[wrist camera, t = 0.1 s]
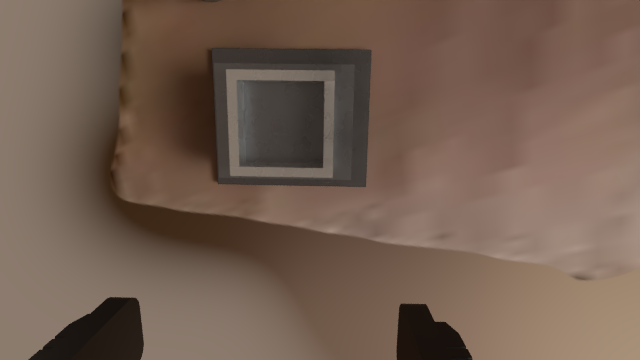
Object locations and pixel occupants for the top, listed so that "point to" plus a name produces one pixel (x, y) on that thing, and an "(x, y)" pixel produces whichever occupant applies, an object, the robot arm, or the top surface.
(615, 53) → the top surface
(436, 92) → the top surface
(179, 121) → the top surface
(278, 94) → the grey socket base
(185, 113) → the top surface
